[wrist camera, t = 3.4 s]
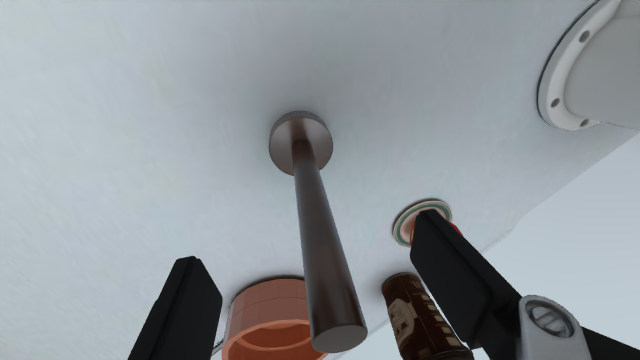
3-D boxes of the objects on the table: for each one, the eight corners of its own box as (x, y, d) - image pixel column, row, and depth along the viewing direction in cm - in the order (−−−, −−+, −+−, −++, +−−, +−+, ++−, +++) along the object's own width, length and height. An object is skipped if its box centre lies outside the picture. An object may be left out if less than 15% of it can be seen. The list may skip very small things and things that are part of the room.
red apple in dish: (392, 250, 32) (416, 294, 26) (390, 208, 28) (418, 249, 22) (447, 236, 32) (481, 276, 26) (453, 191, 28) (495, 228, 22)
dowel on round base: (263, 115, 20) (217, 310, 5) (326, 106, 20) (442, 264, 6) (276, 171, 23) (270, 392, 8) (331, 162, 23) (415, 358, 9)
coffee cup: (371, 304, 38) (408, 409, 27) (373, 273, 34) (417, 384, 23) (420, 294, 39) (475, 392, 28) (428, 263, 35) (496, 365, 24)
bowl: (216, 287, 30) (202, 336, 25) (322, 266, 31) (330, 309, 26) (246, 338, 38) (240, 383, 33) (331, 320, 39) (338, 361, 34)
